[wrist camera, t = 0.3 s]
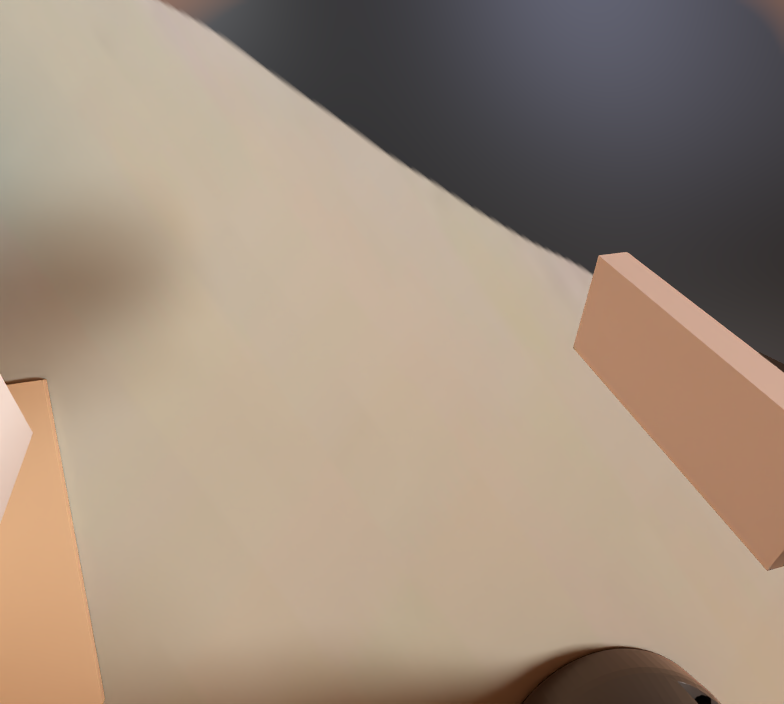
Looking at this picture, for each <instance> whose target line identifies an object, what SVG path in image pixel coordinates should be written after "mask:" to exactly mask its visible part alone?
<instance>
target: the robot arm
mask: <svg viewBox="0 0 784 704" xmlns="http://www.w3.org/2000/svg"><path fill="white" fill-rule="evenodd" d="M573 348H574V349H575V351H576V352H577V353H578V354H579V355H580V356H581V357H582V359H583V360H584V361H585V362H586V363H587V364H588V365H589V367H590V368H591V369H592V370H593V371H594V372H595V374H596V375H597V376H598V377H599V378H600V379H601V380H602V382H603V383H604V384H605V385H606V386H607V387H608V388H609V390H610V391H611V392H612V393H613V394H614V395H615V397H616V398H617V399H618V400H619V401H620V402H621V403H622V405H623V406H624V407H625V408H626V409H627V410H628V411H629V413H630V414H631V415H632V416H633V417H634V418H635V419H636V421H637V422H638V423H639V424H640V425H641V426H642V428H643V429H644V430H645V431H646V432H647V433H648V434H649V436H650V437H651V438H652V439H653V440H654V441H655V442H656V444H657V445H658V446H659V447H660V448H661V449H662V450H663V452H664V453H665V454H666V455H667V456H668V457H669V459H670V460H671V461H672V462H673V463H674V464H675V465H676V467H677V468H678V469H679V470H680V471H681V472H682V473H683V475H684V476H685V477H686V478H687V479H688V480H689V482H690V483H691V484H692V485H693V486H694V487H695V488H696V490H697V491H698V492H699V493H700V494H701V495H702V496H703V498H704V499H705V500H706V501H707V502H708V503H709V504H710V506H711V507H712V508H713V509H714V510H715V511H716V513H717V514H718V515H719V516H720V517H721V518H722V519H723V521H724V522H725V523H726V524H727V525H728V526H729V527H730V529H731V530H732V531H733V532H734V533H735V534H736V536H737V537H738V538H739V539H740V540H741V541H742V542H743V544H744V545H745V546H746V547H747V548H748V549H749V550H750V552H751V553H752V554H753V555H754V556H755V557H756V558H757V560H758V561H759V562H760V563H761V564H762V565H763V567H764V568H765V569H766V570H767V571H768V570H771V569H775V568H779V567H782V566H784V364H782V363H781V362H778V361H776V360H774V359H772V358H770V357H768V356H766V355H764V354H762V353H760V352H759V353H758V352H756V351H755V350H754V349H752V348H751V347H750V346H748V345H747V344H746V343H745V342H743V341H742V340H741V339H739V338H738V337H737V336H735V335H734V334H733V333H732V332H730V331H729V330H728V329H726V328H725V327H724V326H722V325H721V324H720V323H718V322H717V321H715V319H713V318H712V317H711V316H709V315H708V314H707V313H706V312H704V311H703V310H702V309H700V308H699V307H698V306H696V305H695V304H694V303H693V302H691V301H690V300H689V299H687V298H686V297H685V296H683V295H682V294H681V293H679V292H678V291H677V290H676V289H674V288H673V287H672V286H670V285H669V284H668V283H666V282H665V281H664V280H663V279H661V278H660V277H659V276H657V275H656V274H655V273H653V272H652V271H651V270H650V269H648V268H647V267H646V266H644V265H643V264H642V263H640V262H639V261H638V260H636V259H635V258H634V257H633V256H631V255H630V254H629V253H627V252H624V253H617V254H608V255H599V257H598V260H597V264H596V267H595V271H594V275H593V278H592V282H591V285H590V289H589V293H588V296H587V300H586V303H585V307H584V311H583V314H582V318H581V321H580V325H579V329H578V332H577V336H576V339H575V343H574V347H573ZM32 434H33V432H32V430H31V429H30V427H29V425H28V423H27V421H26V420H25V418H24V416H23V414H22V412H21V411H20V409H19V407H18V405H17V403H16V402H15V400H14V398H13V396H12V394H11V393H10V391H9V389H8V387H7V385H6V384H5V382H4V380H3V378H2V377H1V375H0V523H1V520H2V517H3V515H4V512H5V509H6V506H7V504H8V501H9V498H10V495H11V492H12V490H13V487H14V484H15V481H16V479H17V476H18V473H19V470H20V467H21V465H22V462H23V459H24V456H25V454H26V451H27V448H28V445H29V443H30V440H31V437H32ZM522 704H721V703H720V702H719V701H718V700H717V699H716V698H715V697H714V696H713V695H712V694H711V693H710V692H709V691H708V690H707V689H706V688H705V687H704V686H702V685H701V684H700V683H699V682H698V681H697V680H695V679H694V678H693V677H692V676H691V675H690V674H688V673H687V672H686V671H685V670H684V669H683V668H681V667H680V666H679V665H677V664H676V663H674V662H673V661H671V660H669V659H667V658H665V657H663V656H661V655H658V654H655V653H652V652H649V651H645V650H639V649H611V650H605V651H600V652H596V653H593V654H590V655H587V656H584V657H582V658H579V659H577V660H575V661H573V662H571V663H569V664H567V665H565V666H564V667H562V668H560V669H559V670H558V671H556V672H555V673H553V674H552V675H551V676H549V677H548V678H547V679H545V680H544V681H543V682H542V683H541V684H540V685H539V686H538V687H537V688H536V689H535V690H534V691H533V692H532V693H531V694H530V695H529V696H528V697H527V698H526V700H525V701H524V702H523V703H522Z"/></svg>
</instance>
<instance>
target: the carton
mask: <svg viewBox="0 0 784 704" xmlns="http://www.w3.org/2000/svg"><path fill="white" fill-rule="evenodd" d="M7 387H8V389H9V391H10V393H11V394H12V396H13V398H14V400H15V402H16V403H17V405H18V407H19V409H20V411H21V412H22V414H23V416H24V418H25V420H26V421H27V423H28V425H29V427H30V429H31V430H32V432H33V434H32V437H31V440H30V443H29V445H28V448H27V451H26V454H25V456H24V459H23V462H22V465H21V467H20V470H19V473H18V476H17V479H16V481H15V484H14V487H13V490H12V492H11V495H10V498H9V501H8V504H7V506H6V509H5V512H4V515H3V517H2V520H1V523H0V704H103V702H104V700H105V696H104V691H103V685H102V680H101V674H100V669H99V663H98V658H97V653H96V647H95V642H94V636H93V631H92V625H91V620H90V614H89V609H88V603H87V598H86V593H85V587H84V582H83V576H82V571H81V565H80V560H79V554H78V549H77V544H76V538H75V533H74V527H73V522H72V516H71V511H70V505H69V500H68V495H67V489H66V484H65V478H64V473H63V467H62V462H61V456H60V451H59V446H58V440H57V435H56V429H55V424H54V418H53V413H52V407H51V402H50V396H49V391H48V386H47V380H46V379H44V380H37V381H30V382H23V383H16V384H9V385H7Z"/></svg>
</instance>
